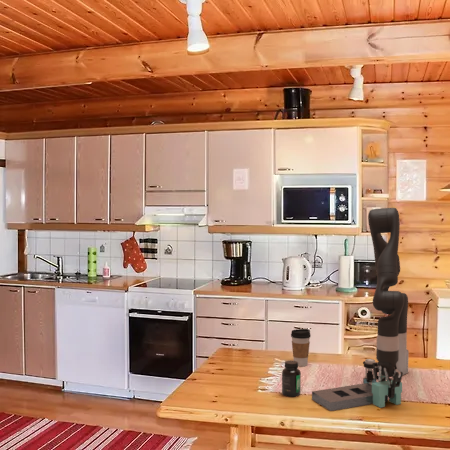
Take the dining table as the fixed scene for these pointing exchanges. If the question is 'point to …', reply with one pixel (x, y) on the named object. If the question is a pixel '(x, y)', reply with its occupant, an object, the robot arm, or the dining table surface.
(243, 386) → the dining table surface
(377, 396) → the mint green notched block
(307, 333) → the coffee cup
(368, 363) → the push button
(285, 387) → the supplement bottle
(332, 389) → the grey slotted board
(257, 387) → the dining table surface
